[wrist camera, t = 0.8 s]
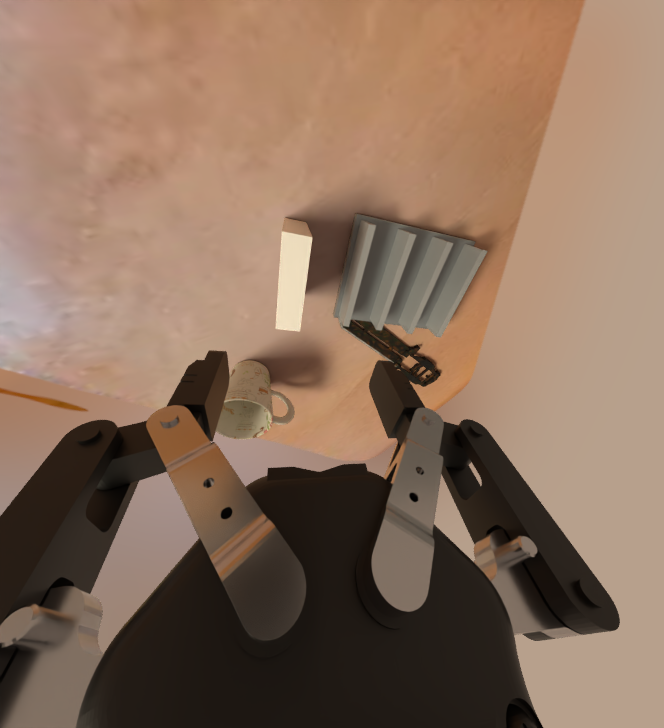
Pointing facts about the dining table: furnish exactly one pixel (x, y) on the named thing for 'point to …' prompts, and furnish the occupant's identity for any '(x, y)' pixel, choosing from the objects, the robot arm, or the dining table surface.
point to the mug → (250, 403)
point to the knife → (388, 352)
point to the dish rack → (404, 275)
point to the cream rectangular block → (293, 273)
